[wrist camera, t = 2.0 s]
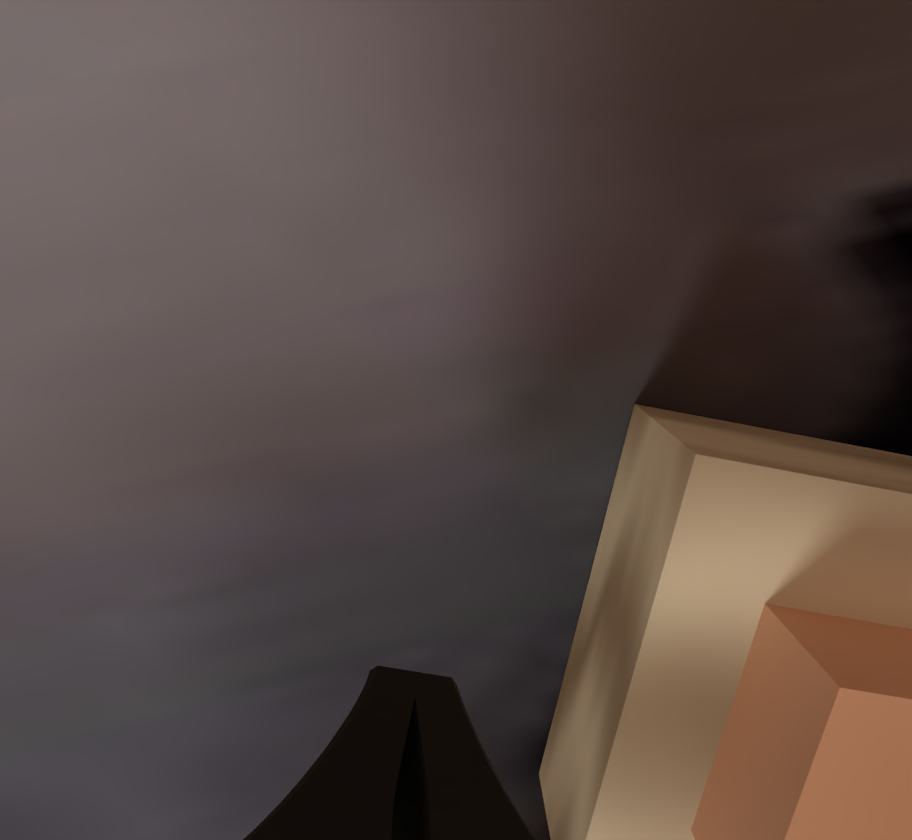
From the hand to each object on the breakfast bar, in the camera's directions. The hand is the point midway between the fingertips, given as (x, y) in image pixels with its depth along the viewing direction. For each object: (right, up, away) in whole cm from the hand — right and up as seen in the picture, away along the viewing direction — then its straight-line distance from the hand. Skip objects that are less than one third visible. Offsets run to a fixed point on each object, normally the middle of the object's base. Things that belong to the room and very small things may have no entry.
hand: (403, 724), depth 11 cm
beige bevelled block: (+8, 0, +6) cm, 10 cm away
